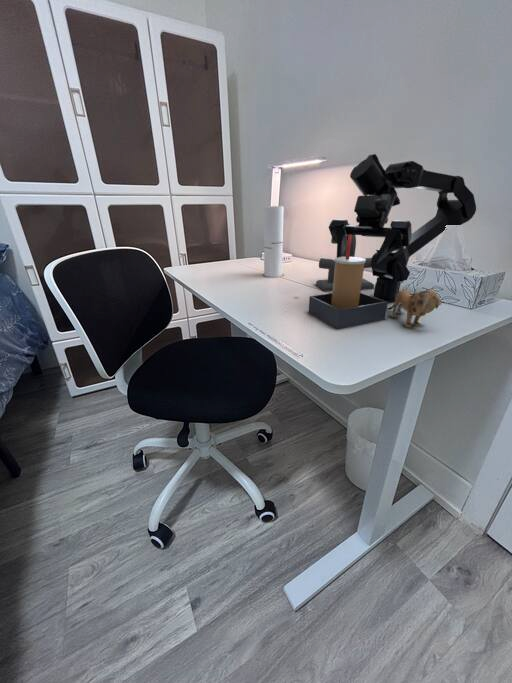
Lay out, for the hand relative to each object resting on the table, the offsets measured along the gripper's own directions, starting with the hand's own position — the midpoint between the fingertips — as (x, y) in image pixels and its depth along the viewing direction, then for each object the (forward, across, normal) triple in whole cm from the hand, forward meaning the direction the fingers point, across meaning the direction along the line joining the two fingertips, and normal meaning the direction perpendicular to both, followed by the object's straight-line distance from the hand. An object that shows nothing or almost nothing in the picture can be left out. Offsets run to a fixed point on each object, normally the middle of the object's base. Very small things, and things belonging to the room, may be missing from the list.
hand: (355, 261), depth 69 cm
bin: (+11, 0, +8) cm, 14 cm away
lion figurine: (+7, +13, +12) cm, 19 cm away
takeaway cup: (+10, -1, +8) cm, 13 cm away
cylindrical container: (-8, -42, +28) cm, 51 cm away
